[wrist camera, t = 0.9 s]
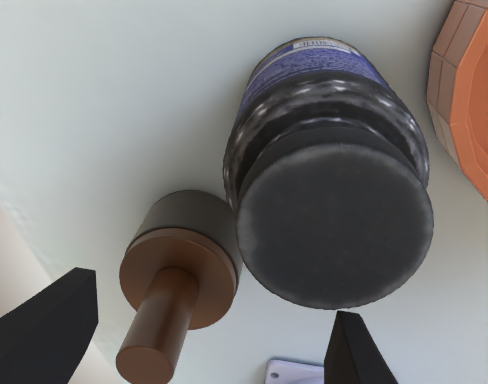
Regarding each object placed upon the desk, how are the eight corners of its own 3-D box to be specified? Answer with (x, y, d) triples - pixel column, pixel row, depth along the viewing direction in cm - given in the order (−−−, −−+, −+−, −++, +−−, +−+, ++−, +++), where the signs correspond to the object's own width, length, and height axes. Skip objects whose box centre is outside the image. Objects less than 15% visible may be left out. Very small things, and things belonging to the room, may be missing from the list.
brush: (241, 284, 26) (214, 430, 18) (145, 269, 26) (76, 406, 18) (252, 198, 23) (225, 323, 15) (145, 182, 23) (63, 298, 15)
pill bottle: (218, 113, 21) (154, 244, 11) (305, 1, 19) (320, 44, 9) (317, 189, 22) (338, 367, 13) (411, 95, 20) (529, 224, 10)
